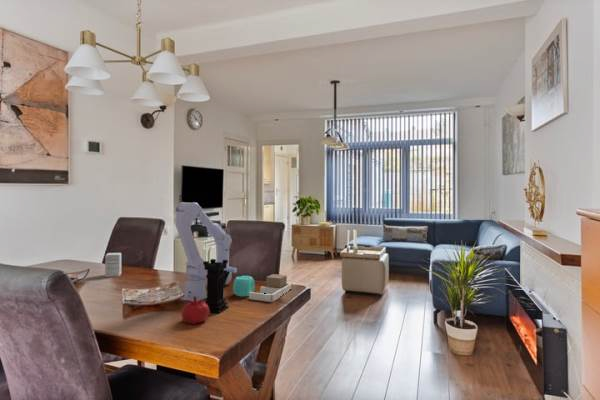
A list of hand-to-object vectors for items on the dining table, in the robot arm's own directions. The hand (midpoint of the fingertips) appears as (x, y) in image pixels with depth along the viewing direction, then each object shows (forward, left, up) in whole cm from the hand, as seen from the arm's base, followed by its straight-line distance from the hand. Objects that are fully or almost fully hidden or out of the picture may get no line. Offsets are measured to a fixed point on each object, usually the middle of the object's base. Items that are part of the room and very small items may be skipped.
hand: (222, 285), depth 172 cm
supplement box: (+4, +76, -3) cm, 76 cm away
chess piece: (-25, -13, -3) cm, 28 cm away
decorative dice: (0, -12, -3) cm, 12 cm away
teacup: (+13, +8, -3) cm, 16 cm away
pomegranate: (-39, -14, -3) cm, 41 cm away
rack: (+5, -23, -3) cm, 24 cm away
